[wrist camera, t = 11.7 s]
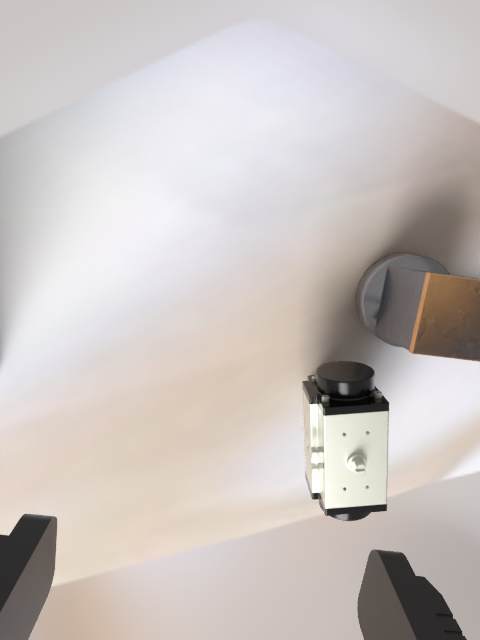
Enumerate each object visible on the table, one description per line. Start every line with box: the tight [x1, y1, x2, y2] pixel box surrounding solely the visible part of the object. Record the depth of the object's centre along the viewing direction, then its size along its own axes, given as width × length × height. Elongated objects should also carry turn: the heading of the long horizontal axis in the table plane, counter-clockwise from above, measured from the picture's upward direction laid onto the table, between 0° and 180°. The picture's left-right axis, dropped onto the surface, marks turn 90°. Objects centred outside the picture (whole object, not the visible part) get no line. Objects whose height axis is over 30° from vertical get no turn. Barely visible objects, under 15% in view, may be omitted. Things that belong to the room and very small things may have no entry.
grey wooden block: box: [375, 266, 480, 361], centre depth 35 cm, size 6×6×7 cm
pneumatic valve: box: [303, 361, 389, 521], centre depth 37 cm, size 6×12×12 cm, turn 4°
